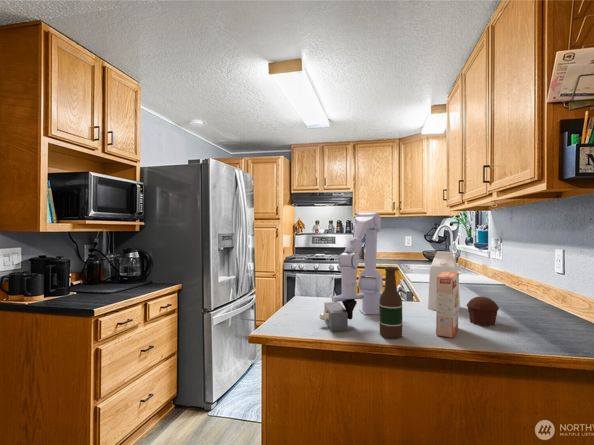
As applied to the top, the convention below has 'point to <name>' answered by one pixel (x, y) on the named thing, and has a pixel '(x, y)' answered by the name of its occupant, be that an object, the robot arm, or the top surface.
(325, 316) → the pin
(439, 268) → the milk
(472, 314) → the muffin
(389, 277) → the beer bottle
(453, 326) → the cracker box
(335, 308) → the block
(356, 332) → the top surface
